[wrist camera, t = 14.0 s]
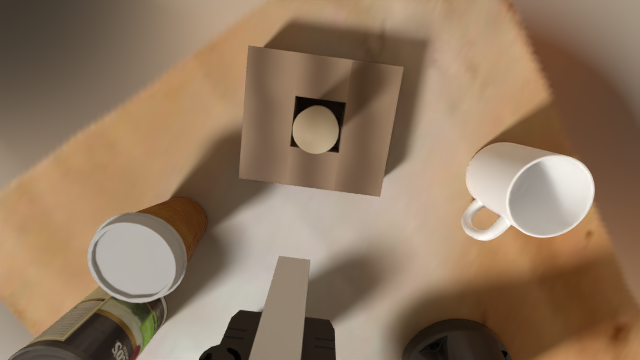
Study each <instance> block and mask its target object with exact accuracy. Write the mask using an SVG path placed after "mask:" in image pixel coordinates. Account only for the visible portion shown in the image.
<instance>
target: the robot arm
mask: <svg viewBox="0 0 640 360" xmlns="http://www.w3.org/2000/svg"><path fill="white" fill-rule="evenodd" d="M309 267H310V260H307V259H299V258H291V257H283V256H279V258H278V262H277V265H276V268H275V272H274V275H273V279H272V282H271V285H270V289H269V292H268V296H267V299H266V302H265V306H264V309H263V313H261V312H253V311H245V310H240V311H238V312H237V313H236V314H235V315H234V316H233V317H232V318H231V320H230V322H229V324H228V327H227V330H226V331H225V334H224V337H223V338H222V341H221V343H220V344H219V345H216V346H213V347H210V348H209V349H207V350H206V351H204V352H203V354H202V355H201V356H200V358H199V360H336V353H335V330H334V328H333V326H332V324H331V323H330V321H329V320H324V319H316V318H308V317H305V309H306V298H307V288H308V277H309ZM402 360H512V358H511V356H510V354H509V352H508V350H507V348H506V347H505V346H504V344H503V343H502V341H501V340H500V339H499V337H498V336H497V335H496V334H495V333H494V332H493V331H492V330H490V329H489V328H488V327H486V326H484V325H482V324H480V323H477V322H474V321H469V320H460V319H456V320H447V321H442V322H439V323H436V324H433V325H431V326H429V327H427V328H425V329H424V330H422V331H421V332H419V333H418V334H417V335H416V336H415V337H414V338H413V339H412V340H411V341H410V343H409V344H408V346H407V347H406V349H405V351H404V354H403V357H402Z"/></svg>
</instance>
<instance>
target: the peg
mask: <svg viewBox="0 0 640 360" xmlns="http://www.w3.org/2000/svg"><path fill="white" fill-rule="evenodd" d="M338 134H339V127H338V123H337V120H336V117H335V115H334V114H333V112H332V111H331V110H330V109H328V108H327V107H325V106H321V105H314V106H311V107H308V108H307V109H305V110H304V111H302V112H301V113H300V114H299V115H298V116H297V118H296V119H295V121H294V124H293V137H294V140H295V142H296V143H297V145H298V146H299V147H300V148H301V149H302V150H304V151H306V152H308V153H312V154H319V153H323V152H326V151H328V150H329V149H330V148H332V147H333V145H334V144H335V143H336V141H337V138H338Z"/></svg>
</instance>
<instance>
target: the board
mask: <svg viewBox="0 0 640 360" xmlns="http://www.w3.org/2000/svg"><path fill="white" fill-rule="evenodd" d="M403 69H404V67H401V66H393V65H386V64H379V63H372V62H364V61H357V60H350V59H343V58H335V57H328V56H321V55H314V54H306V53H299V52H292V51H284V50H277V49H270V48H263V47H255V46H248V58H247V71H246V85H245V98H244V112H243V125H242V139H241V152H240V166H239V178H241V179H248V180H256V181H264V182H271V183H279V184H286V185H294V186H302V187H309V188H317V189H325V190H332V191H340V192H347V193H355V194H363V195H370V196H378V197H380V194H381V189H382V183H383V178H384V172H385V167H386V161H387V156H388V150H389V145H390V140H391V134H392V129H393V123H394V118H395V112H396V107H397V101H398V96H399V90H400V85H401V80H402V74H403ZM299 96H300V97H308V98H315V99H322V100H330V101H337V102H344V104H343V111H342V118H341V125H340V131H339V138H338V145H337V147H336V146H333V147H332V148H330V149H329V150H328V151H326V152H323V153H319V154H312V153H308V152H306V151H304V150H302V149H301V148H300V147H299V146H298V145H297V143H296V142H295V141H294V137H293V124H294V121H295V119H296V118H297V110H298V101H299Z"/></svg>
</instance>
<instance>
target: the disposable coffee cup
mask: <svg viewBox="0 0 640 360" xmlns="http://www.w3.org/2000/svg"><path fill="white" fill-rule="evenodd" d="M206 227H207V217H206V214H205V212H204V210H203V208H202V207H201V206H200V205H199V204H198V203H197V202H195V201H193V200H192V199H189V198H184V197H177V198H173V199H170V200H168V201H165V202H162V203H159V204H157V205H154V206H151V207H149V208H146V209H143V210H140V211H138V212H135V213H124V214H120V215H117V216H114V217H112V218H110V219H108V220H107V221H106V222H104V223H103V224H102V225H101V226H100V227H99V228H98V230H97V232H96V233H95V235H94V238H93V239H92V241H91V243H90V245H89V249H88V255H87V257H88V265H89V269H90V271H91V273H92V275H93V278H94V279H95V280H96V282H97V283H98V284H99V285H100V287H101V288H102V289H103V290H105V291H106V292H107V293H109V294H110V295H112V296H114V297H116V298H118V299H121V300H124V301H128V302H132V303H143V302H149V301H152V300H155V299H157V298H160V297H163V296H165V295H167V294H169V293H170V292H172V291H173V290H174V289H175V288H176V287H177V286H178V285H179V284H180V282H181V280H182V278H183V277H184V274H185V271H186V265H187V262H188V261H189V259H190V257H191V255H192V254H193V251H194V250H195V248H196V246H197V244H198V242H199V241H200V239H201V237H202V235H203V234H204V232H205V230H206Z"/></svg>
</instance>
